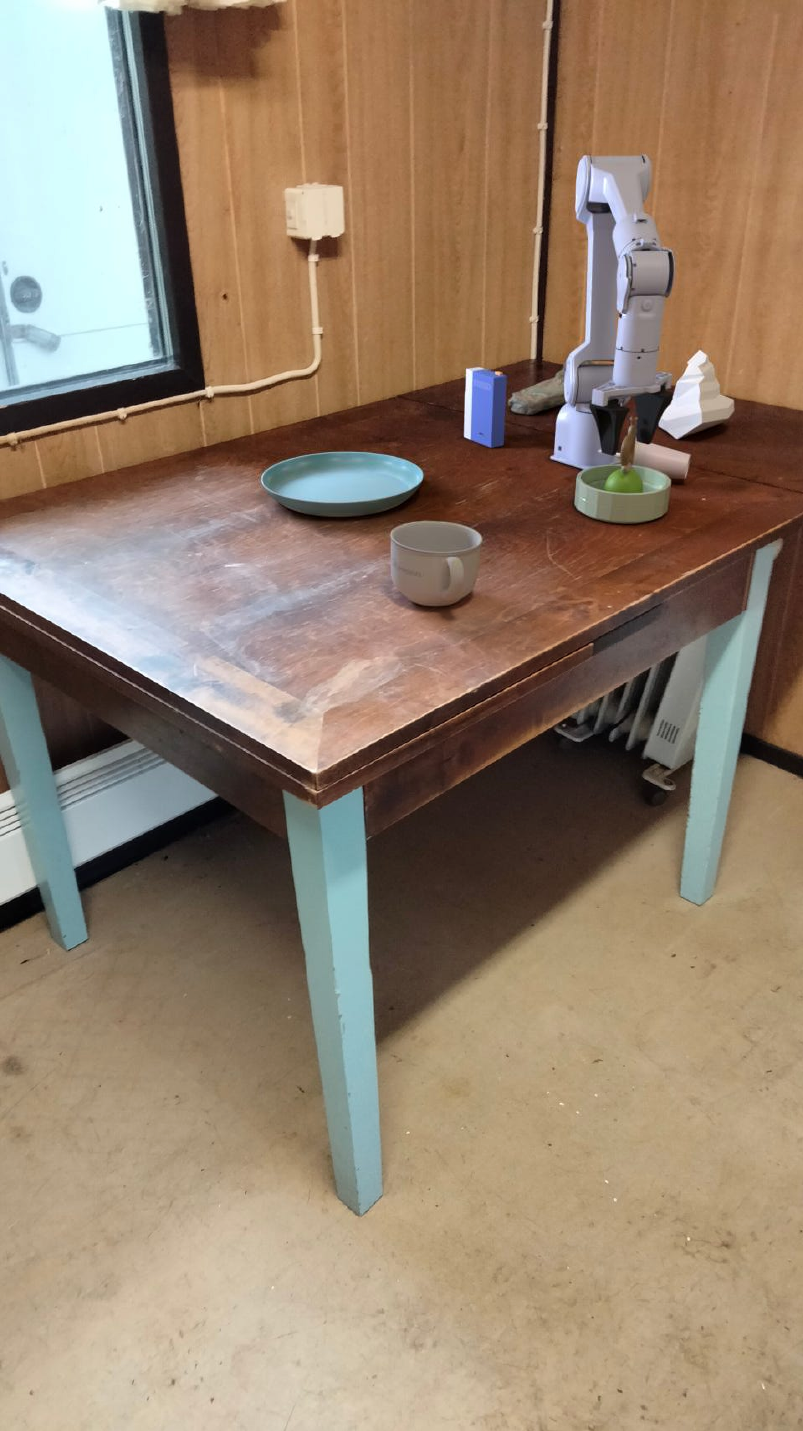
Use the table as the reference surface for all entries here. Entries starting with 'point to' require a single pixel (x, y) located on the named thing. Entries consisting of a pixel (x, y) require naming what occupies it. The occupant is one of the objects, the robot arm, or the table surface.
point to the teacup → (434, 561)
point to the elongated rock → (541, 394)
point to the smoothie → (660, 459)
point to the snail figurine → (626, 467)
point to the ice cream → (696, 400)
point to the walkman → (485, 406)
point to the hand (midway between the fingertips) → (626, 448)
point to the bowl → (622, 495)
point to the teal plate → (342, 483)
